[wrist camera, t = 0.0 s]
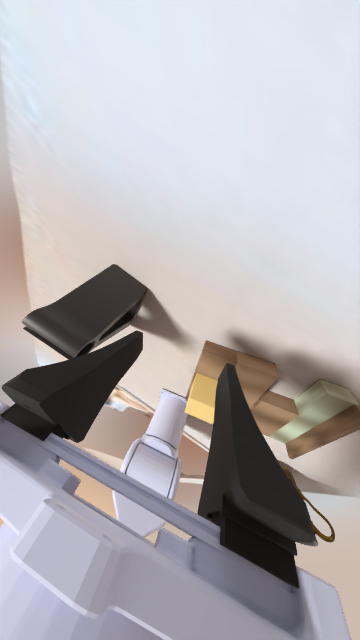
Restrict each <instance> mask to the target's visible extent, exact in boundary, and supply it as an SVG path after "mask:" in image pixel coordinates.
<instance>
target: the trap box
mask: <svg viewBox="0 0 360 640" xmlns="http://www.w3.org/2000/svg"><path fill="white" fill-rule="evenodd" d="M226 363H229V364H232V365H234V366H235V368H236V372H237V375H238V378H239V382H240V385H241V388H242V390H243V393H244V396H245V398H246V401H247V403H248V406H249V408H250V410H251V413H252V415H253V417H254V419H255V421H256V423H257V425H258V427H259V429H260V431H261V433H262V434H264V435H266V436H269V437H271V438H273V439H276V440H278V441H281V442H283V443H285V444H286V448H287V452H288V456H289V458H291V459H294V458H296V457H299V456H301V455H303V454H305V453H308V452H310V451H312V450H314V449H317V448H319V447H321V446H323V445H326V444H328V443H330V442H332V441H335V440H337V439H339V438H341V437H344V436H346V435H348V434H350V433H353V432H355V431H357V430H359V429H360V405H359V403H358V402H357V400H356V399H355V398H354V396H353V395H352V393H351V392H350V391H349V389H348V388H345V387H342V386H339V385H336V384H333V383H330V382H327V381H324V380H321V379H319V380H318V381H317V382H316V383H314V384H313V385H312V386H311V387H309V388H308V389H307V390H306V391H305V392H303V393H302V394H301V395H300V396H299V397H297V398H296V399H295V400H292V399H289V398H287V397H284V396H281V395H279V394H276V393H273V392H270V391H268V390H267V389H268V388H269V387H270V386H271V385H272V384H273V383H274V382H275V381H276V379H277V378H278V373H277V370H276V366H275V364H274V363H271V362H268V361H265V360H262V359H259V358H256V357H253V356H250V355H247V354H244V353H241V352H238V351H235V350H232V349H229V348H227V347H224V346H221V345H218V344H215V343H212V342H209V341H206V342H205V344H204V347H203V350H202V353H201V356H200V359H199V361H198V364H197V367H196V370H195V373H194V376H193V378H192V381H191V384H190V387H189V390H188V393H187V396H186V400H185V401H186V402H187V401H188V398H189V394H190V391H191V387H192V384H193V382H194V379H195V376H196V374H197V373H199V374H201V375H204V376H206V377H209V378H212V379H214V380H217V381H218V378H219V376H220V374H221V372H222V370H223V368H224V366H225V364H226Z"/></svg>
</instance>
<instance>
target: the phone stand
mask: <svg viewBox="0 0 360 640" xmlns="http://www.w3.org/2000/svg"><path fill="white" fill-rule="evenodd" d="M146 291H147V288H146V287H144V286H143V285H142V284H140V283H139V282H138V281H136V280H135V279H134V278H132V277H131V276H129V275H128V274H127V273H125V272H124V271H123V270H121V269H120V268H119V267H117V266H116V265H115V264H113V265H111V266H110V267H108V268H107V269H105V270H104V271H102V272H101V273H99V274H98V275H96V276H94V277H93V278H91V279H90V280H88V281H87V282H85V283H84V284H82V285H81V286H79V287H78V288H76V289H75V290H73V291H71V292H70V293H68V294H67V295H65V296H64V297H62V298H61V299H59V300H58V301H56V302H54V303H52V304H50V305H48V306H45V307H42V308H39V309H36V310H34V311H33V312H31V313H30V314H28V315H27V316H26V317H25V319H24V320H23V322H22V323H23V324H24V325H26V326H27V327H25V328H23V329H25V330H26V331H28V332H29V333H31V334H32V335H33V336H35V337H36V338H38V339H39V340H41V341H42V342H44V343H45V344H47V345H48V346H50V347H51V348H53V349H54V350H55V351H57V352H58V353H60V354H61V355H63V356H64V357H66V358H67V359H69V360H70V359H73V358H76V357H79V356H82V355H85V354H88V353H89V352H90V351H91V350H93V349H94V348H95V347H97V346H98V345H100V344H101V343H103V342H104V341H106V340H108V339H109V338H111V337H112V336H114V335H115V334H117V333H118V332H120V331H121V330H123V329H125V328H126V327H128V326H129V325H130V324H131V322H132V320H133V318H134V316H135V314H136V311H137V309H138V307H139V305H140V303H141V301H142V299H143V297H144V295H145V293H146ZM28 327H29V328H28Z"/></svg>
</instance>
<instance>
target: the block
mask: <svg viewBox="0 0 360 640" xmlns="http://www.w3.org/2000/svg"><path fill="white" fill-rule="evenodd" d="M217 382H218V381H217V380H214V379H212V378H209V377H206V376H204V375H201V374H199V373H197V374H196V376H195V379H194V382H193V384H192V387H191V391H190V394H189V398H188V401H187V405H186V408H185V413H187V414H189V415H192V416H194V417H196V418H198V419H201V420H203V421H205V422H208V423H210V424H212V423H213V422H214V410H215V396H216V387H217Z"/></svg>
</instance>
